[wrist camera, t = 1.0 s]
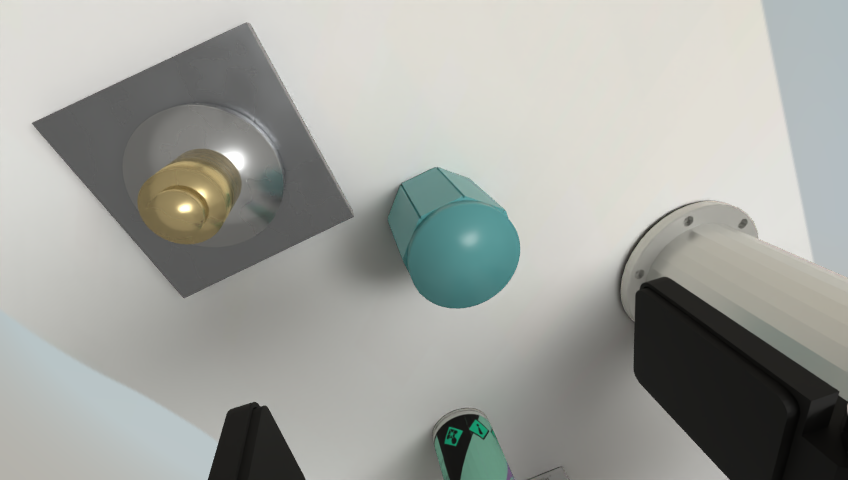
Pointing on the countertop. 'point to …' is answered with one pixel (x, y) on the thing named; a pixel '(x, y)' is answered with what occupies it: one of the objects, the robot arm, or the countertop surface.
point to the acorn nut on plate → (202, 161)
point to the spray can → (469, 447)
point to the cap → (453, 239)
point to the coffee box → (553, 475)
